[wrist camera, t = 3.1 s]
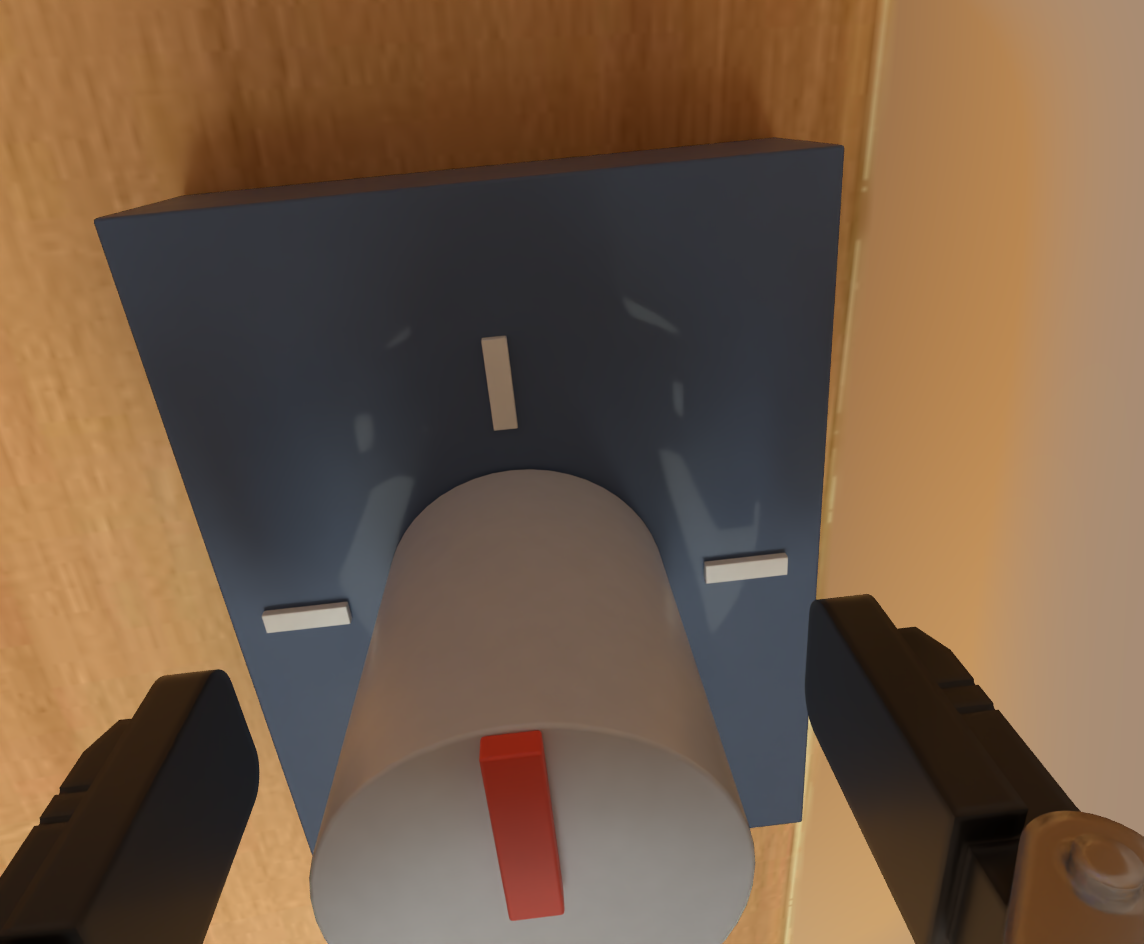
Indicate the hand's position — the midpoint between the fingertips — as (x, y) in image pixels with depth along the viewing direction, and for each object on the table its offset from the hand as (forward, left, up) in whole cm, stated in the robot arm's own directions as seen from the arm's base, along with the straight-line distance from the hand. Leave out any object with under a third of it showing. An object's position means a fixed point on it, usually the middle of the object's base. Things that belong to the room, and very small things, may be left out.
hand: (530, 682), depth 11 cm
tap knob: (0, 0, -2) cm, 2 cm away
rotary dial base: (0, 0, -6) cm, 6 cm away
